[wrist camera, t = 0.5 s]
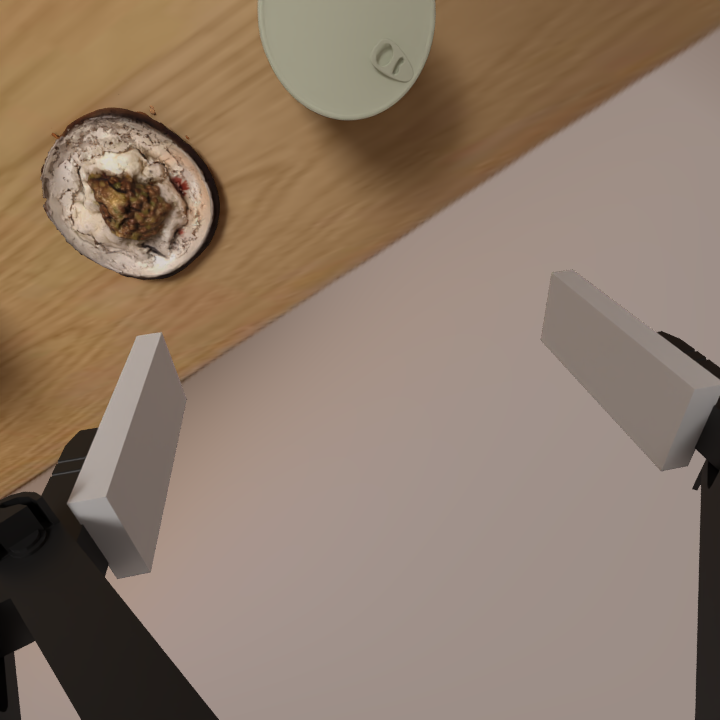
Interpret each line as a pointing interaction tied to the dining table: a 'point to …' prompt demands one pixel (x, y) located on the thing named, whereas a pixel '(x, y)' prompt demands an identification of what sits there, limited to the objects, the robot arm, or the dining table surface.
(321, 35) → the can
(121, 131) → the sushi roll
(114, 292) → the dining table surface
